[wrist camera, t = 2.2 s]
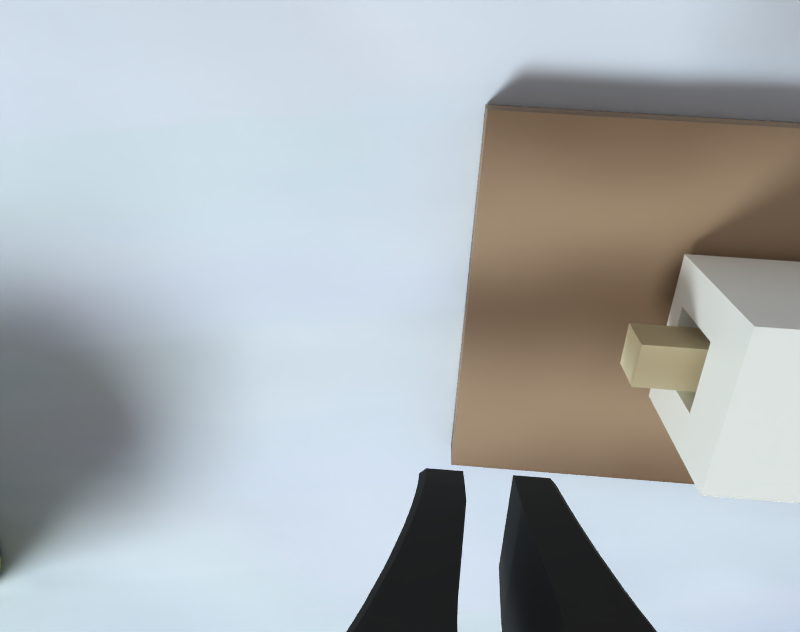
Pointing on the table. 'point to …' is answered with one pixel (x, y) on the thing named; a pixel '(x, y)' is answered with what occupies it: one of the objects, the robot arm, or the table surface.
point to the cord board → (603, 277)
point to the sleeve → (739, 378)
